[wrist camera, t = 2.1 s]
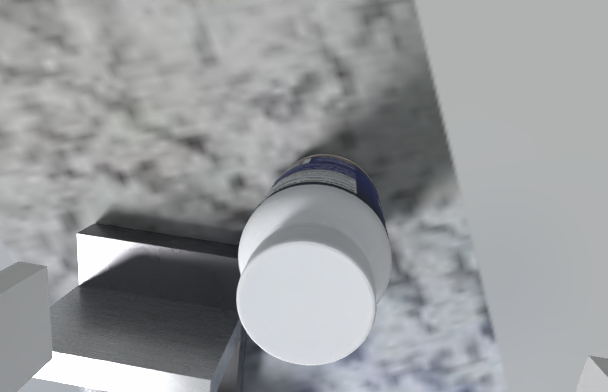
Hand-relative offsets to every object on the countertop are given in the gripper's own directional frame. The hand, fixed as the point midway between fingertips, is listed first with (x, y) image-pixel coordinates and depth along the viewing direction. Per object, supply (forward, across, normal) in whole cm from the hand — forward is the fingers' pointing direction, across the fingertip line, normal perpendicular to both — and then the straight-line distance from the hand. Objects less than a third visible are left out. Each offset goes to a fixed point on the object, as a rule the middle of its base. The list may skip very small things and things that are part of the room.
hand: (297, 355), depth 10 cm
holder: (+11, -8, -10) cm, 17 cm away
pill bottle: (+12, 0, +1) cm, 12 cm away
